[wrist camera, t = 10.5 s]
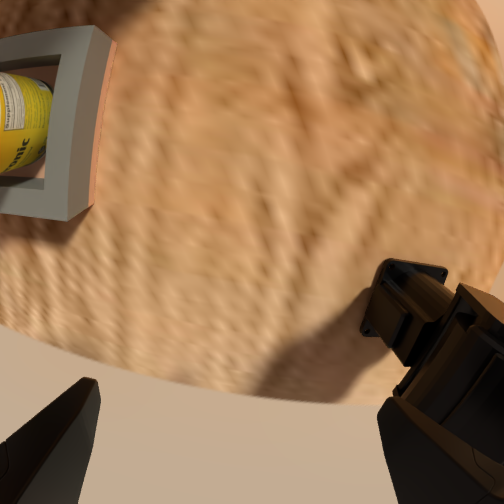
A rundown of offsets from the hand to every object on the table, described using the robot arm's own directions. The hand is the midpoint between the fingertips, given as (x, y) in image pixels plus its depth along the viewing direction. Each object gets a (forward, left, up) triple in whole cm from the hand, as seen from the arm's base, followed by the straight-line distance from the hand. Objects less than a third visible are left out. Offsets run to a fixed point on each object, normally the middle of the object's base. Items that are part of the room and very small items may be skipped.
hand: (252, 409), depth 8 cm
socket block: (+14, -7, -12) cm, 20 cm away
